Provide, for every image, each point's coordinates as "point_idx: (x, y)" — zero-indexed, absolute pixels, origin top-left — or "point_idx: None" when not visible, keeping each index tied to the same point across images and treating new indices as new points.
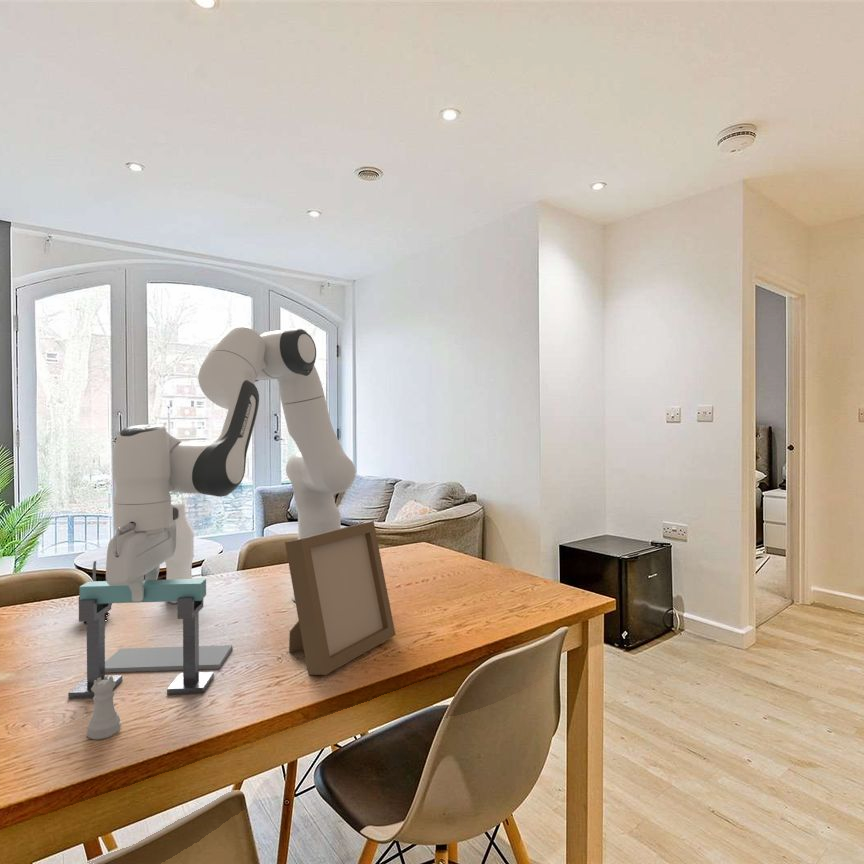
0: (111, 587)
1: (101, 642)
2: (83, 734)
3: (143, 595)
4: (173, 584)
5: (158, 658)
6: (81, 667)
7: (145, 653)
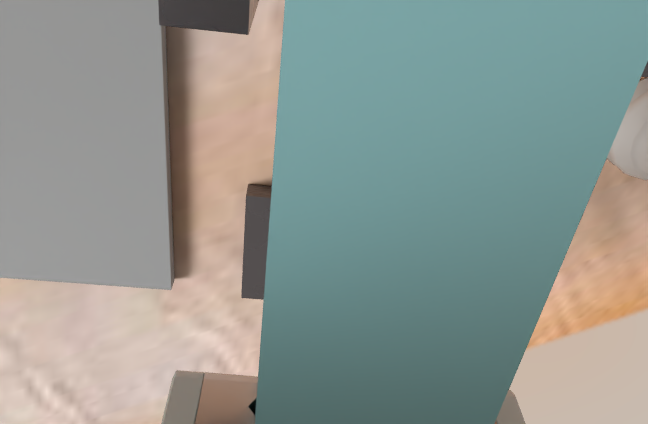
0: None
1: None
2: (625, 175)
3: (501, 420)
4: (567, 247)
5: (73, 104)
6: (126, 334)
7: (22, 173)
